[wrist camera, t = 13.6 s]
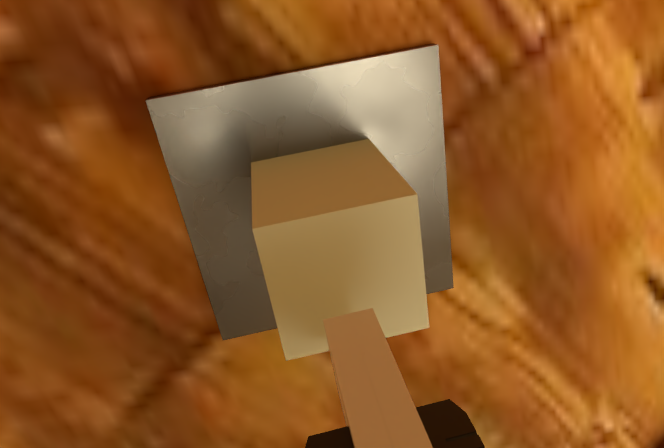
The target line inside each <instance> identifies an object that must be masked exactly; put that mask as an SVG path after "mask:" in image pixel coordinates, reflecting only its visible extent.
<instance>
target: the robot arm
mask: <svg viewBox="0 0 664 448" xmlns="http://www.w3.org/2000/svg"><path fill="white" fill-rule="evenodd" d="M323 323H324V328H325V332H326V337H327V342H328V346H329V351H330V356H331V361H332V365H333V370H334V375H335V380H336V384H337V389H338V393H339V397H340V401H341V405H342V410H343V414H344V418H345V422H346V426H347V427H344V428H340V429H336V430H332V431H328V432H324V433H320V434H316V435H312V436H309V437H308V440H307V443H306V446H305V448H485V447H484V444H483V443H482V441H481V439H480V437H479V435H477V433H476V430H475V428H474V426H473V425H472V423H471V421H470V419H469V417H468V415H467V414H466V412H464V411H463V410H462V409H461V408H460V407H458V406H457V405H456V404H455V403H453V402H452V401H451V400H450V399H448V400H444V401H440V402H436V403H432V404H428V405H424V406H420V407H417V408H416V407H415V405H414V403H413V400H412V398H411V396H410V393H409V391H408V389H407V387H406V384H405V382H404V380H403V377H402V375H401V373H400V370H399V368H398V366H397V363H396V361H395V359H394V356H393V354H392V352H391V349H390V347H389V345H388V342H387V340H386V338H385V335H384V333H383V331H382V329H381V326H380V324H379V322H378V319H377V317H376V315H375V312H374V310H373V308H370V309H365V310H361V311H357V312H353V313H349V314H344V315H340V316H336V317H332V318H328V319H323Z"/></svg>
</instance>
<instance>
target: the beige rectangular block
mask: <svg viewBox="0 0 664 448" xmlns="http://www.w3.org/2000/svg"><path fill="white" fill-rule="evenodd" d="M251 190H252V230H253V234H254V238H255V242H256V246H257V250H258V254H259V257H260V261H261V265H262V269H263V273H264V277H265V281H266V285H267V289H268V293H269V296H270V300H271V304H272V308H273V312H274V316H275V320H276V324H277V328H278V331H279V335H280V339H281V343H282V347H283V351H284V355H285V359H286V361H288V360H292V359H296V358H300V357H305V356H309V355H313V354H318V353H322V352H326V351H329V346H328V342H327V337H326V332H325V328H324V323H323V319H328V318H332V317H336V316H340V315H344V314H349V313H353V312H357V311H361V310H365V309H370V308H373V310H374V312H375V315H376V317H377V319H378V322H379V324H380V326H381V329H382V331H383V333H384V335H385V338H387V337H391V336H396V335H400V334H404V333H408V332H413V331H417V330H421V329H426V328H429V318H428V307H427V296H426V284H425V273H424V262H423V251H422V240H421V229H420V218H419V207H418V195H417V193H416V192H415V191H414V190H413V189H412V187H411V186H410V185H409V184H408V183H407V182H406V181H405V179H404V178H403V177H402V176H401V175H400V174H399V173H398V171H397V170H396V169H395V168H394V167H393V166H392V165H391V163H390V162H389V161H388V160H387V159H386V158H385V157H384V155H383V154H382V153H381V152H380V151H379V150H378V149H377V147H376V146H375V145H374V144H373V143H372V142H371V140H370V139H365V140H360V141H355V142H350V143H345V144H341V145H336V146H331V147H326V148H321V149H316V150H311V151H306V152H301V153H296V154H291V155H286V156H281V157H276V158H271V159H266V160H261V161H256V162H251Z"/></svg>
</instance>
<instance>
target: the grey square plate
mask: <svg viewBox="0 0 664 448" xmlns="http://www.w3.org/2000/svg"><path fill="white" fill-rule="evenodd" d="M146 103H147V107H148V110H149V113H150V116H151V119H152V122H153V125H154V128H155V131H156V134H157V138H158V141H159V144H160V147H161V150H162V153H163V156H164V159H165V162H166V165H167V169H168V172H169V175H170V178H171V181H172V184H173V187H174V190H175V193H176V196H177V200H178V203H179V206H180V209H181V212H182V215H183V218H184V221H185V224H186V227H187V231H188V234H189V237H190V240H191V243H192V246H193V249H194V252H195V255H196V258H197V261H198V265H199V268H200V271H201V274H202V277H203V280H204V283H205V286H206V289H207V292H208V296H209V299H210V302H211V305H212V308H213V311H214V314H215V317H216V320H217V323H218V327H219V330H220V333H221V336H222V339H223V340H227V339H231V338H236V337H240V336H245V335H249V334H253V333H258V332H262V331H267V330H271V329H275V328H277V324H276V320H275V316H274V312H273V308H272V304H271V300H270V296H269V293H268V289H267V285H266V281H265V277H264V273H263V269H262V265H261V261H260V257H259V254H258V250H257V246H256V242H255V238H254V234H253V230H252V190H251V162H256V161H261V160H266V159H271V158H276V157H281V156H286V155H291V154H296V153H301V152H306V151H311V150H316V149H321V148H326V147H331V146H336V145H341V144H345V143H350V142H355V141H360V140H365V139H370V140H371V142H372V143H373V144H374V145H375V146H376V147H377V149H378V150H379V151H380V152H381V153H382V154H383V155H384V157H385V158H386V159H387V160H388V161H389V162H390V163H391V165H392V166H393V167H394V168H395V169H396V170H397V171H398V173H399V174H400V175H401V176H402V177H403V178H404V179H405V181H406V182H407V183H408V184H409V185H410V186H411V187H412V189H413V190H414V191H415V192H416V193H417V195H418V207H419V218H420V229H421V240H422V251H423V262H424V273H425V284H426V294H429V293H434V292H438V291H442V290H447V289H451V288H453V273H452V257H451V241H450V225H449V209H448V192H447V176H446V160H445V144H444V128H443V112H442V96H441V80H440V64H439V48H438V45H436V44H430V45H424V46H419V47H414V48H408V49H403V50H398V51H393V52H387V53H382V54H377V55H372V56H366V57H361V58H356V59H350V60H345V61H340V62H335V63H329V64H324V65H319V66H314V67H308V68H303V69H298V70H293V71H287V72H282V73H277V74H271V75H266V76H261V77H256V78H250V79H245V80H240V81H235V82H229V83H224V84H219V85H214V86H208V87H203V88H198V89H192V90H187V91H182V92H177V93H171V94H166V95H161V96H156V97H150V98H148V99H147V100H146Z"/></svg>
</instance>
